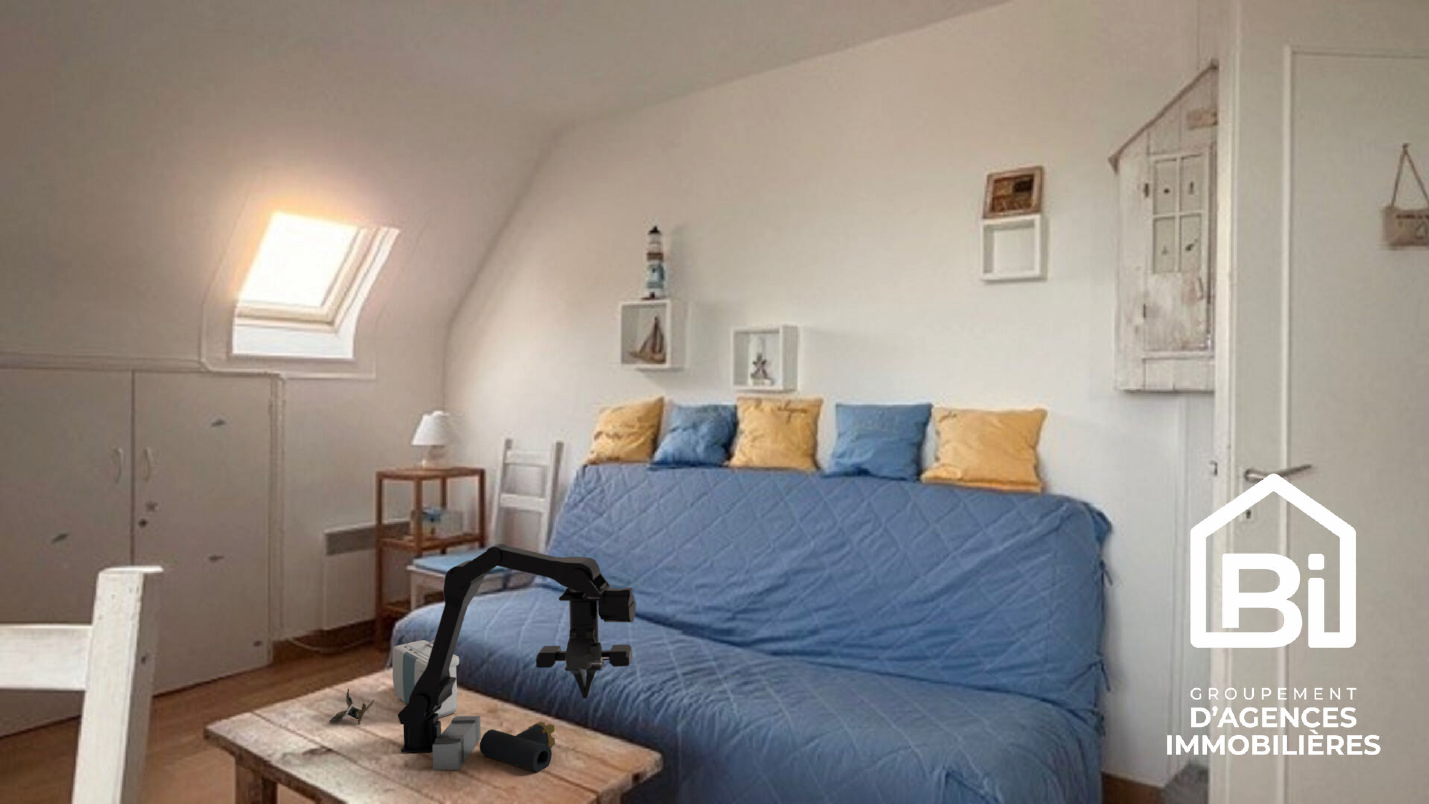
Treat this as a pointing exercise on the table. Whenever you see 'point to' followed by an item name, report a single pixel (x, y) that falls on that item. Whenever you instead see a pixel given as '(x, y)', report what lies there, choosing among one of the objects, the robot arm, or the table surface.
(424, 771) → the table surface
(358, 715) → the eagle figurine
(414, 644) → the stereo radio cassette player
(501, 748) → the pipe connector
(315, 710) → the table surface
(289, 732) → the table surface
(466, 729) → the grey stepped block
